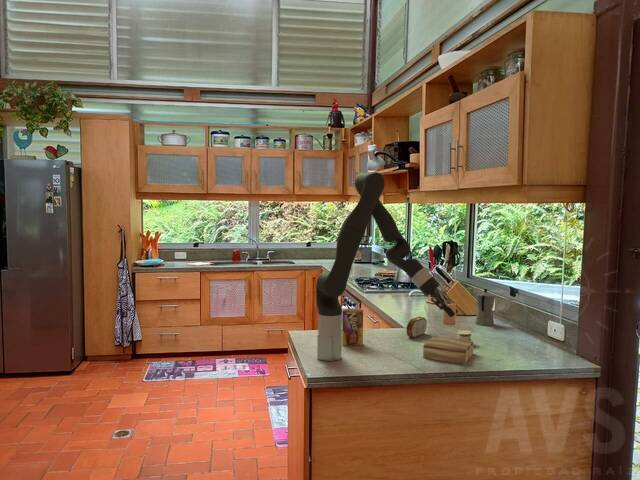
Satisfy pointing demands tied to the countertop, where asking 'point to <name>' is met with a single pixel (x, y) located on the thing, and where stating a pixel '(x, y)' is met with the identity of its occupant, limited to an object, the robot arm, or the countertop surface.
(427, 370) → the countertop surface
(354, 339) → the candy box
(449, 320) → the peach domed capsule
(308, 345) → the countertop surface
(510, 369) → the countertop surface
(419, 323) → the tin
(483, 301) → the coffeepot
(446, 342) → the plinth
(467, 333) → the stacked layers on plate
